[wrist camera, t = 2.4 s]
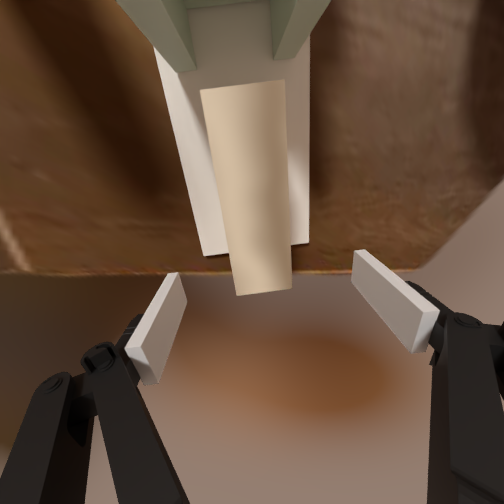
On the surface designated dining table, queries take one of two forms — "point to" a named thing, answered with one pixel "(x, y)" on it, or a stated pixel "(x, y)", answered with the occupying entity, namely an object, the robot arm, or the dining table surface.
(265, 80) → the track
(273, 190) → the beige wooden block
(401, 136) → the dining table surface
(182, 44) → the socket block
